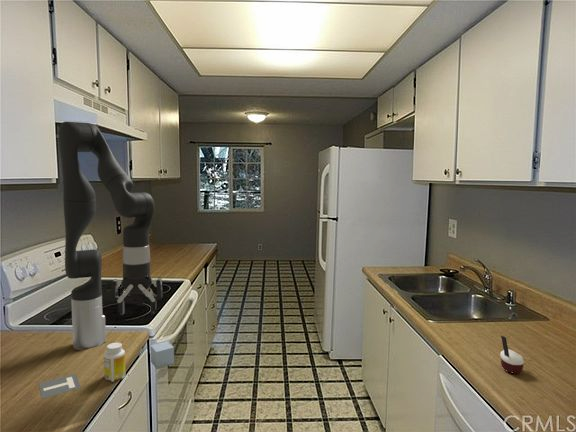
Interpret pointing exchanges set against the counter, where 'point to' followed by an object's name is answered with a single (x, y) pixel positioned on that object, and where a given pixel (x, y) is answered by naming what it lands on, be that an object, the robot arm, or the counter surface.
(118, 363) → the supplement bottle
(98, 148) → the robot arm
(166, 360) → the blue block
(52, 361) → the counter surface
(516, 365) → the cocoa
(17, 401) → the counter surface
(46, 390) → the board
